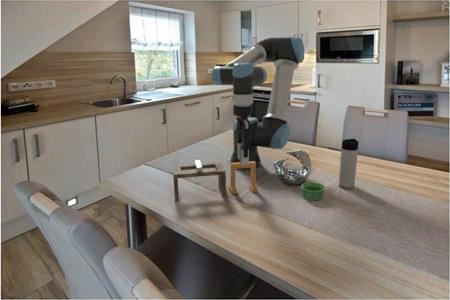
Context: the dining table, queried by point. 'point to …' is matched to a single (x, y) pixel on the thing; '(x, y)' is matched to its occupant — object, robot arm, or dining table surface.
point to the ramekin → (312, 191)
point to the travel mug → (348, 163)
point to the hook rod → (198, 165)
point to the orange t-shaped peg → (239, 165)
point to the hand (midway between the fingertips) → (243, 161)
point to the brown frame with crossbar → (219, 171)
